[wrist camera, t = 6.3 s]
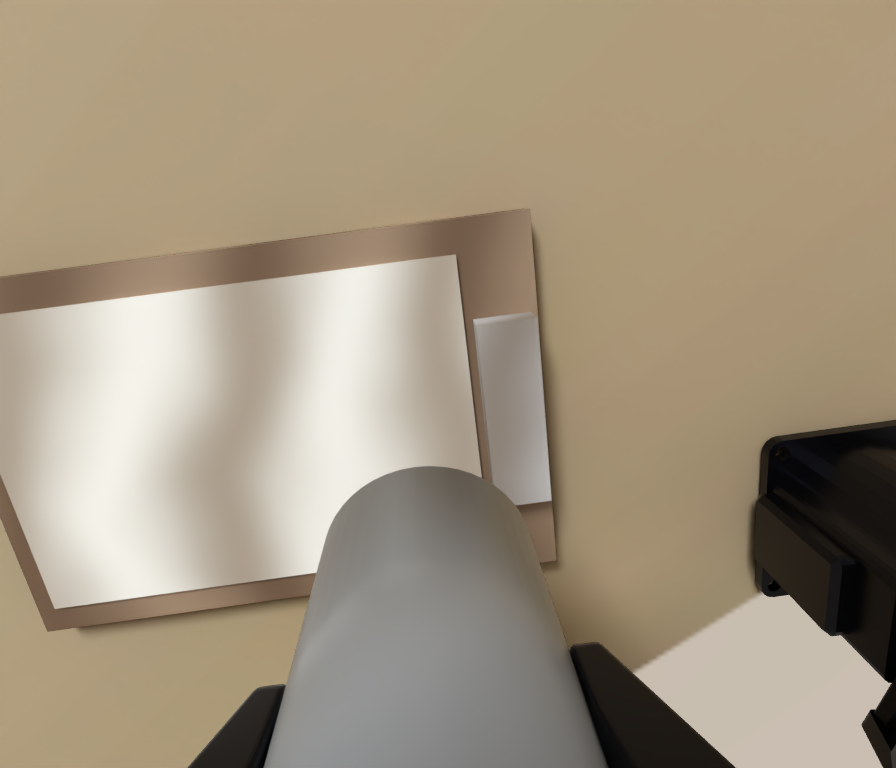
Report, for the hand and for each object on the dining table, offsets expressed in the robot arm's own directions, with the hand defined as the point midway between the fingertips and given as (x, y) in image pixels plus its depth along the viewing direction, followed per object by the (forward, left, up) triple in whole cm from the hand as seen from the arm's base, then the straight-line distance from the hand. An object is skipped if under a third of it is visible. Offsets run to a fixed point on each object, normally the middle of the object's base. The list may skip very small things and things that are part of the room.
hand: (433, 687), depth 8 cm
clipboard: (+5, 0, -12) cm, 13 cm away
